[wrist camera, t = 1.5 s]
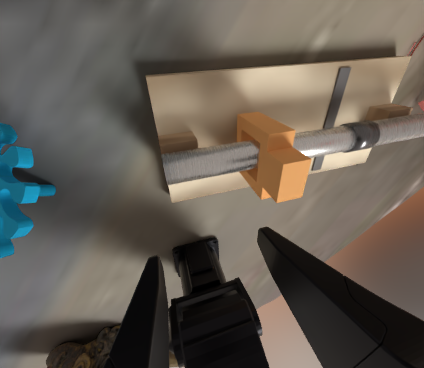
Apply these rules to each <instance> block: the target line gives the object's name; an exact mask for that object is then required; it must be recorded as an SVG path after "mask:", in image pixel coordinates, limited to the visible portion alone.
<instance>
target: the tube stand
mask: <svg viewBox="0 0 424 368" xmlns="http://www.w3.org/2000/svg"><path fill="white" fill-rule="evenodd" d="M411 57H412V56H392V57H379V58H366V59H353V60H340V61H327V62H314V63H301V64H287V65H274V66H261V67H248V68H235V69H222V70H209V71H195V72H182V73H169V74H156V75H146V80H147V85H148V90H149V95H150V100H151V104H152V109H153V114H154V119H155V124H156V129H157V133H158V139H159V145H160V150H161V156H162V161H163V167H164V172H165V177H166V181H167V185H168V187H169V191H170V196H171V201H172V203H174V202H179V201H184V200H188V199H193V198H198V197H203V196H207V195H212V194H217V193H222V192H226V191H231V190H236V189H241V188H245V187H250V185H249V184H248V183H247V181H246V180H245V179H244V178H243V176H242V175H241V174H240V173H239V172H240V171H245V170H250V169H256V168H258V162H259V151H260V143H259V142H258V141H256V140H248V141H242V142H237V114H244V113H251V112H260V113H262V114H264V115H266V116H268V117H270V118H272V119H274V120H276V121H278V122H280V123H282V124H284V125H286V126H288V127H290V128H292V129H294V130H296V132H295V137H294V142H293V148H295V149H297V150H298V151H300V152H301V153H303V154H305V155H306V156H308V157H309V158H311V159H312V161H311V164H310V168H309V172H308V174H312V173H317V172H322V171H326V170H331V169H336V168H341V167H345V166H350V165H355V164H360V163H364V162H366V159H367V157H368V155H369V152H370V150H371V148H372V147H373V146H376V145H381V144H386V143H392V142H397V141H402V140H407V139H413V138H418V137H422V136H424V113H419V114H413V115H410V113H411V111H412V109H413V108H411V107H406V106H401V105H396V104H391V102H392V100H393V98H394V95H395V93H396V91H397V89H398V86H399V84H400V82H401V79H402V77H403V75H404V73H405V70H406V68H407V66H408V63H409V61H410V59H411Z"/></svg>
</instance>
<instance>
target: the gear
mask: <svg viewBox="0 0 424 368" xmlns="http://www.w3.org/2000/svg"><path fill="white" fill-rule="evenodd" d="M17 137H18V136H17V134H16V132H15V130H14V129H13V128H12V127H11V126H10V125H7V124H3V123H0V258H3V257H6V256H10V255H12V254H14V246H13V244H12V242H11V240H10V239H13V238H18V237H23V236H25V235H27V234H28V233H29V232H30V230H31V229H32V227H33V222H32V220H31V219H30V218H29V217H27V216H25V215H24V214H23V213H22V212H21V211H20V209H19V208H18V206H17V204H23V203H35V202H36V201H37V199H38V196H53V195H54V194H55V192H56V188H55V186H54V185H39V184H37V183H26V182H20V181H18V180H17V179H16V178H15V177H14V176H13V174H12V168H13V167H19V168H31V167H32V166H33V162H34V161H33V154H32V150H31V149H29V148H24V147H18V146H11V147H10V148H8V150H7V151H6V152H5V153H4V154H2V155H1V149H2V147H3V146H4V145H6V144H13V143H14V142H15V141H16V139H17Z"/></svg>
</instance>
